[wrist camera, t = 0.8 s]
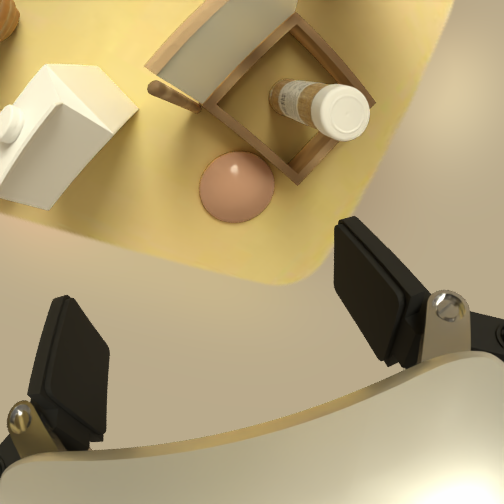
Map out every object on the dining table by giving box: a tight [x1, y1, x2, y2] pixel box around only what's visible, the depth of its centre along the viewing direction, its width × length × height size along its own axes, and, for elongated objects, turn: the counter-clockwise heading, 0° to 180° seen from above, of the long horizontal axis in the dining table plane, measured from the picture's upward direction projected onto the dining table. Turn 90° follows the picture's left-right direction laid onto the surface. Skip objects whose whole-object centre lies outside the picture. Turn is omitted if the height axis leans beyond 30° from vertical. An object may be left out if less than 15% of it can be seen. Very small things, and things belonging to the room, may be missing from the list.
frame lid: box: [144, 0, 298, 104], centre depth 18 cm, size 14×14×1 cm
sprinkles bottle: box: [269, 79, 370, 141], centre depth 26 cm, size 5×5×14 cm
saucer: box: [199, 151, 274, 223], centre depth 36 cm, size 9×9×1 cm
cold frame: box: [147, 12, 376, 186], centre depth 24 cm, size 15×19×14 cm
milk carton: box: [0, 64, 139, 210], centre depth 19 cm, size 7×7×19 cm
